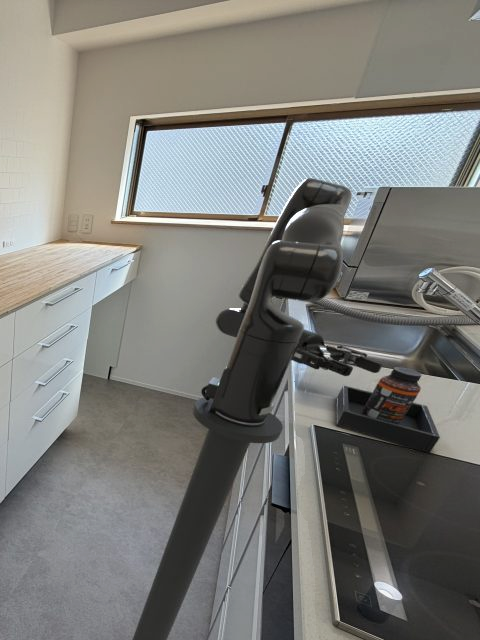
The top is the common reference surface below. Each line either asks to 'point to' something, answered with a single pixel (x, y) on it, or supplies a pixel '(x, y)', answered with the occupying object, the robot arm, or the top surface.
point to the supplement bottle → (393, 395)
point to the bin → (410, 432)
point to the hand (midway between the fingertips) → (365, 370)
